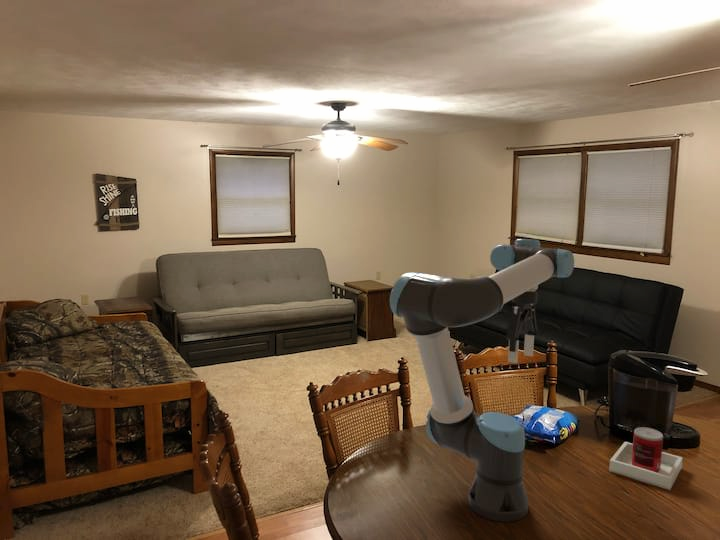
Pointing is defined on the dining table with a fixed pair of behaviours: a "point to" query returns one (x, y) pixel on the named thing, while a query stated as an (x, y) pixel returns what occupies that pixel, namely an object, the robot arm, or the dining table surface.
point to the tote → (663, 478)
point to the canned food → (647, 449)
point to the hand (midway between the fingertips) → (520, 358)
